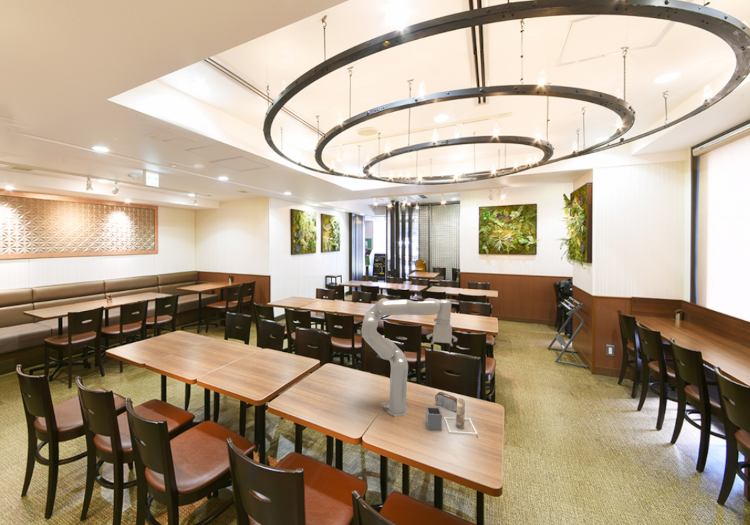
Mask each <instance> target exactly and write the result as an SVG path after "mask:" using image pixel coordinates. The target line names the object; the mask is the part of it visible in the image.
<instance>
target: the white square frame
mask: <svg viewBox="0 0 750 525" xmlns="http://www.w3.org/2000/svg"><path fill="white" fill-rule="evenodd" d="M443 419H444V423H445V425H446V429H447V431H448V434H450V435H466V436H475V437H476V438H478V434H479V433H478V431H477V428H476V427H475V426H474V423H473V421H472V418H471V417H469V418H467V417H464V422H465V421H466V422H467V421H468V422H469V425H470V426H471V429H472V431H473V432H472V431H471V432H469V431H456V430H455V431H453V430H451V429H450V426H449V422H448V421H456V417H454V416H453V417H450V416H444V417H443Z"/></svg>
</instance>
